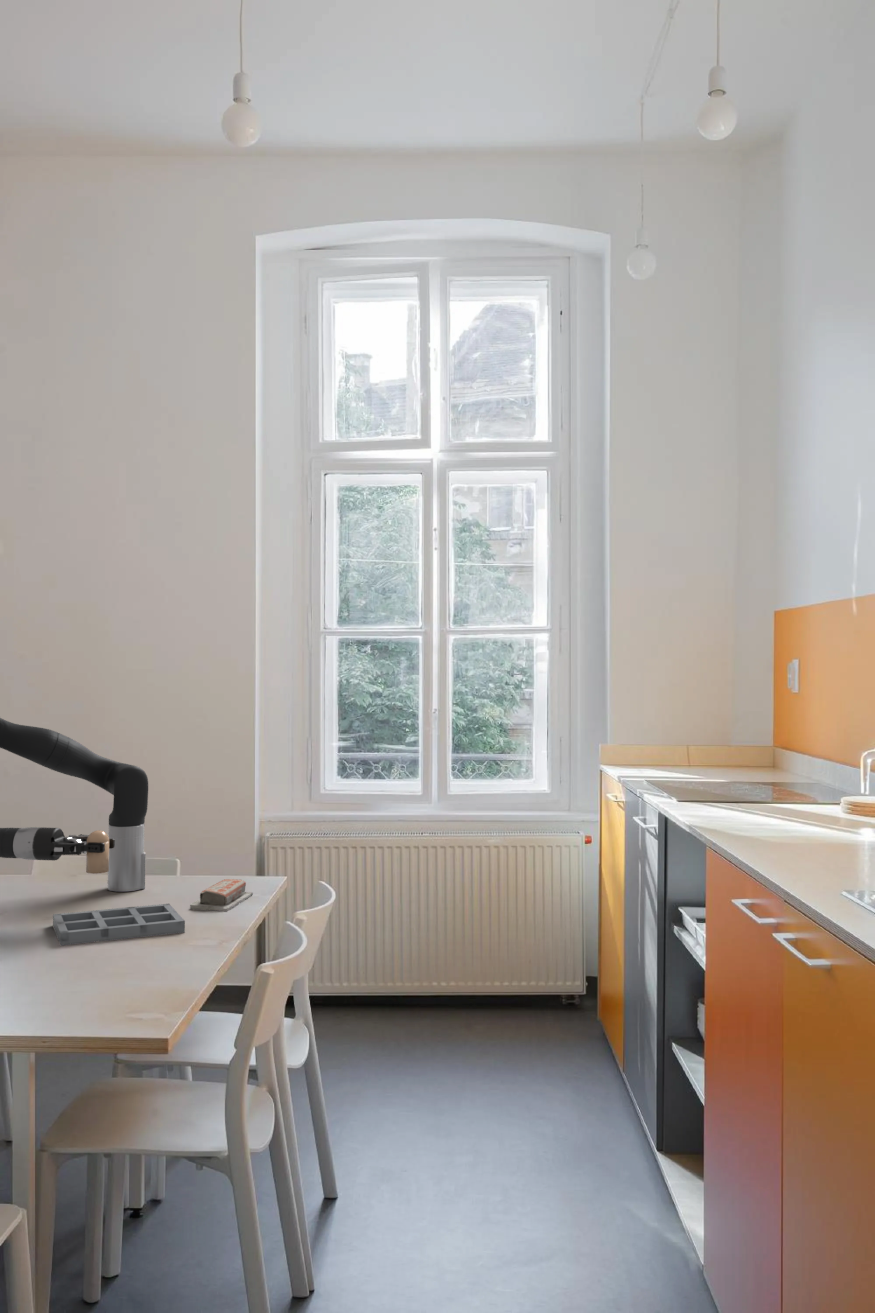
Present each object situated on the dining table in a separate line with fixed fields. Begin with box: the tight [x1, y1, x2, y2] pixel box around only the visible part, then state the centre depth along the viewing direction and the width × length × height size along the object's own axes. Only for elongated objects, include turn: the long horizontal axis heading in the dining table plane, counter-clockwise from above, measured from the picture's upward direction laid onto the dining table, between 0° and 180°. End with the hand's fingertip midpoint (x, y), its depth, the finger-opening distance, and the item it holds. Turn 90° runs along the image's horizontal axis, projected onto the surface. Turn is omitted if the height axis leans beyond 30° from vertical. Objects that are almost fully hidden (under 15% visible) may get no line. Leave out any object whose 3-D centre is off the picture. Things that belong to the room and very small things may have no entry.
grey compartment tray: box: [52, 903, 186, 946], centre depth 223 cm, size 26×18×3 cm
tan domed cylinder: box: [85, 829, 109, 875], centre depth 228 cm, size 5×5×10 cm
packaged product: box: [189, 878, 254, 912], centre depth 250 cm, size 18×5×10 cm
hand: (108, 845), depth 228 cm, fingers closed on tan domed cylinder, 5 cm apart
